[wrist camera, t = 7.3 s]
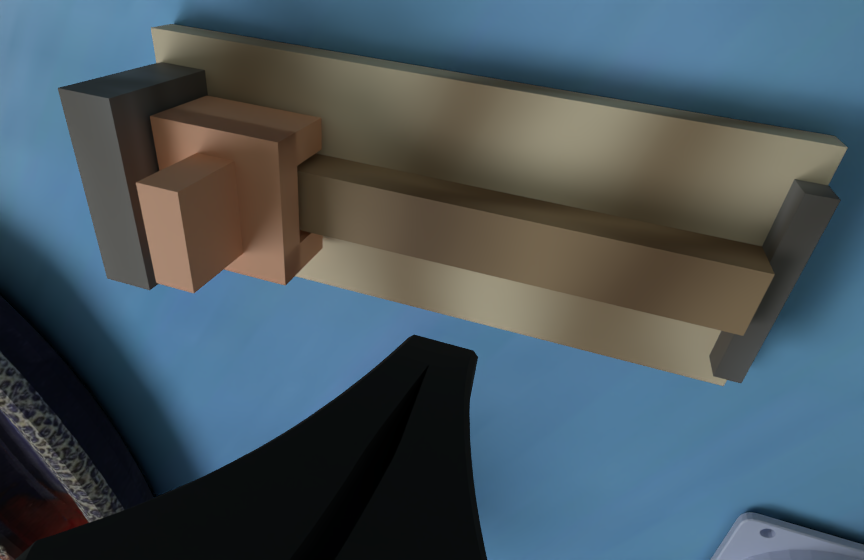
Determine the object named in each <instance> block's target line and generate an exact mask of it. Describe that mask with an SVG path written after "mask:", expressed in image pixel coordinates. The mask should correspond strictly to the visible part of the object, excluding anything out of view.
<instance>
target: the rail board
mask: <svg viewBox="0 0 864 560" xmlns="http://www.w3.org/2000/svg"><path fill="white" fill-rule="evenodd" d="M151 32H152V38H153V44H154V50H155V56H156V64H152V65H148V66H144V67H140V68H136V69H132V70H128V71H124V72H120V73H116V74H112V75H108V76H104V77H100V78H96V79H92V80H88V81H84V82H80V83H76V84H72V85H68V86H64V87H60V88H58V91H59V95H60V99H61V102H62V106H63V110H64V114H65V118H66V122H67V125H68V129H69V133H70V137H71V141H72V145H73V149H74V152H75V156H76V160H77V164H78V168H79V172H80V175H81V179H82V183H83V187H84V191H85V195H86V198H87V202H88V206H89V210H90V214H91V218H92V221H93V225H94V229H95V233H96V237H97V241H98V245H99V248H100V252H101V256H102V260H103V264H104V268H105V271H106V275H107V278H108V279H111V280H115V281H119V282H122V283H126V284H129V285H133V286H137V287H140V288H144V289H147V290H151V289H152V288H153V287H155V286H156V285H158V283H156V279H155V274H154V269H153V264H152V260H151V255H150V250H149V245H148V240H147V235H146V230H145V225H144V220H143V216H142V211H141V206H140V201H139V196H138V191H137V186H136V182H138V181H140V180H142V179H144V178H146V177H148V176H150V175H152V174H154V173H156V172H158V171H159V166H158V160H157V154H156V149H155V143H154V138H153V132H152V126H151V121H150V116H151V115H154V114H157V113H159V112H162V111H165V110H168V109H171V108H173V107H176V106H179V105H182V104H184V103H187V102H190V101H193V100H196V99H198V98H201V97H204V96H212V97H217V98H222V99H228V100H233V101H238V102H243V103H248V104H253V105H258V106H263V107H269V108H274V109H279V110H284V111H289V112H294V113H299V114H305V115H310V116H315V117H320V118H321V131H322V149H321V150H320V151H318V152H317V153H315V154H314V155H312V156H311V157H309V158H308V159H306V160H305V161H303V162H302V163H301V164H299V165H298V166H297V177H298V205H299V230H302V231H306V232H310V233H314V234H318V235H323V248H322V249H321V250H320V251H319V252H318V253H317V254H316V255H315V256H314V257H313V258H312V259H311V260H310V261H309V262H308V263H307V264H306V265H305V266H304V267H303V268H302V269H301V270H300V271H299V272H298V273H297V274H296V275H295V276H297V277H301V278H304V279H308V280H312V281H316V282H320V283H324V284H328V285H332V286H336V287H340V288H343V289H347V290H351V291H355V292H359V293H363V294H367V295H371V296H375V297H378V298H382V299H386V300H390V301H394V302H398V303H402V304H406V305H410V306H414V307H417V308H421V309H425V310H429V311H433V312H437V313H441V314H445V315H449V316H453V317H456V318H460V319H464V320H468V321H472V322H476V323H480V324H484V325H488V326H491V327H495V328H499V329H503V330H507V331H511V332H515V333H519V334H523V335H527V336H530V337H534V338H538V339H542V340H546V341H550V342H554V343H558V344H562V345H566V346H569V347H573V348H577V349H581V350H585V351H589V352H593V353H597V354H601V355H604V356H608V357H612V358H616V359H620V360H624V361H628V362H632V363H636V364H640V365H643V366H647V367H651V368H655V369H659V370H663V371H667V372H671V373H675V374H679V375H682V376H686V377H690V378H694V379H698V380H702V381H706V382H710V383H714V384H717V385H721V386H724V384H725V382H726V381H727V380H730V381H734V382H738V383H742V381H743V379H744V377H745V376H746V374H747V372H748V370H749V368H750V366H751V365H752V363H753V361H754V359H755V357H756V355H757V353H758V352H759V350H760V348H761V346H762V344H763V342H764V341H765V339H766V337H767V335H768V333H769V331H770V329H771V328H772V326H773V324H774V322H775V320H776V318H777V317H778V315H779V313H780V311H781V309H782V307H783V306H784V304H785V302H786V300H787V298H788V296H789V294H790V293H791V291H792V289H793V287H794V285H795V283H796V282H797V280H798V278H799V276H800V274H801V272H802V270H803V269H804V267H805V265H806V263H807V261H808V259H809V258H810V256H811V254H812V252H813V250H814V248H815V246H816V245H817V243H818V241H819V239H820V237H821V235H822V234H823V232H824V230H825V228H826V226H827V224H828V223H829V221H830V219H831V217H832V215H833V213H834V211H835V210H836V208H837V206H838V204H839V202H840V199H839V198H838V196H837V195H836V194H835V193H834V192H833V190H832V189H831V188H830V187H829V186H828V185H829V183H830V181H831V179H832V177H833V175H834V173H835V171H836V169H837V167H838V165H839V163H840V162H841V160H842V158H843V156H844V154H845V152H846V150H847V148H848V147H847V146H846V145H844V144H843V143H842V142H841V141H840V140H839V139H838V138H837V137H836V136H832V135H826V134H820V133H814V132H808V131H802V130H796V129H790V128H784V127H778V126H773V125H767V124H761V123H755V122H749V121H743V120H737V119H731V118H725V117H719V116H713V115H707V114H702V113H696V112H690V111H684V110H678V109H672V108H666V107H660V106H654V105H648V104H642V103H637V102H631V101H625V100H619V99H613V98H607V97H601V96H595V95H589V94H583V93H577V92H571V91H566V90H560V89H554V88H548V87H542V86H536V85H530V84H524V83H518V82H512V81H506V80H501V79H495V78H489V77H483V76H477V75H471V74H465V73H459V72H453V71H447V70H441V69H435V68H430V67H424V66H418V65H412V64H406V63H400V62H394V61H388V60H382V59H376V58H370V57H365V56H359V55H353V54H347V53H341V52H335V51H329V50H323V49H317V48H311V47H305V46H299V45H294V44H288V43H282V42H276V41H270V40H264V39H258V38H252V37H246V36H240V35H234V34H229V33H223V32H217V31H211V30H205V29H199V28H193V27H187V26H181V25H175V24H169V25H163V26H157V27H152V28H151Z"/></svg>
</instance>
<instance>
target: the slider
mask: <svg viewBox="0 0 864 560" xmlns="http://www.w3.org/2000/svg"><path fill="white" fill-rule="evenodd" d="M150 121H151V126H152V132H153V138H154V143H155V149H156V154H157V160H158V166H159V171H158V172H156V173H154V174H152V175H150V176H148V177H146V178H144V179H142V180H140V181H138V182H136V186H137V191H138V196H139V201H140V206H141V211H142V216H143V220H144V225H145V230H146V235H147V240H148V245H149V250H150V255H151V260H152V264H153V269H154V274H155V279H156V283H158V284H162V285H166V286H169V287H173V288H177V289H180V290H184V291H188V292H191V293H195V292H196V291H197V290H199V289H200V288H201V287H202V286H204V285H205V284H206V283H207V282H208V281H210V280H211V279H212V278H213V277H215V276H216V275H217V274H218V273H220V272H221V271H222V270H223V269H224V270H228V271H232V272H236V273H240V274H243V275H247V276H251V277H255V278H259V279H263V280H266V281H270V282H274V283H278V284H282V285H286V284H287V283H288V282H289V281H290V280H291V279H292V278H293V277H294V276H295V275H296V274H297V273H298V272H299V271H300V270H301V269H302V268H303V267H304V266H305V265H306V264H307V263H308V262H309V261H310V260H311V259H312V258H313V257H314V256H315V255H316V254H317V253H318V252H319V251H320V250H321V249H322V248H323V235H318V234H314V233H310V232H306V231H302V230H299V205H298V177H297V166H298V165H299V164H301V163H302V162H303V161H305V160H306V159H308V158H309V157H311V156H312V155H314V154H315V153H317V152H318V151H320V150H321V149H322V131H321V118H320V117H315V116H310V115H305V114H299V113H294V112H289V111H284V110H279V109H274V108H269V107H263V106H258V105H253V104H248V103H243V102H238V101H233V100H228V99H222V98H217V97H212V96H204V97H201V98H198V99H196V100H193V101H190V102H187V103H184V104H182V105H179V106H176V107H173V108H171V109H168V110H165V111H162V112H159V113H157V114H154V115H151V116H150Z"/></svg>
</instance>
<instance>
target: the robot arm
mask: <svg viewBox="0 0 864 560" xmlns="http://www.w3.org/2000/svg"><path fill="white" fill-rule="evenodd" d="M477 359H478V356H477V355H476V354H475V352H474V351H473V350H469V349H465V348H462V347H458V346H454V345H451V344H447V343H443V342H439V341H436V340H432V339H428V338H425V337H421V336H417V335H413V336H411V337H409V338H408V339H406V340H405V341H404V342H403V343H402V344H401V345H400V346H399V347H398V348H397V349H396V350H394V351H393V352H392V353H391V354H390V355H389V356H388V357H386V358H385V359H384V360H383V361H382V362H381V363H379V364H378V365H377V366H376V367H375V368H374V369H372V370H371V371H370V372H369V373H367V374H366V375H365V376H364V377H362V378H361V379H360V380H359V381H357V382H356V383H355V384H353V385H352V386H351V387H350V388H348V389H347V390H346V391H345V392H343V393H342V394H341V395H339V396H338V397H337V398H335V399H334V400H332V401H331V402H329V403H328V404H327V405H325V406H324V407H322V408H321V409H319V410H318V411H317V412H315V413H314V414H312V415H311V416H309V417H308V418H307V419H305V420H304V421H302V422H300V423H299V424H297V425H296V426H294V427H293V428H291V429H290V430H288V431H286V432H285V433H283V434H281V435H280V436H278V437H276V438H275V439H273V440H271V441H270V442H268V443H266V444H264V445H263V446H261V447H259V448H258V449H256V450H254V451H252V452H250V453H248V454H246V455H244V456H243V457H241V458H239V459H237V460H235V461H233V462H231V463H229V464H227V465H225V466H223V467H222V468H220V469H218V470H216V471H214V472H211V473H209V474H207V475H205V476H203V477H201V478H199V479H197V480H195V481H192V482H190V483H188V484H185V485H183V486H181V487H178V488H176V489H174V490H172V491H169V492H167V493H165V494H162V495H160V496H158V497H155V498H153V499H151V500H148V501H146V502H144V503H141V504H139V505H136V506H134V507H131V508H129V509H126V510H124V511H121V512H118V513H115V514H113V515H110V516H107V517H104V518H101V519H98V520H95V521H92V522H89V523H87V524H84V525H81V526H78V527H75V528H72V529H69V530H66V531H63V532H61V533H58V534H55V535H52V536H49V537H45V538H42V539H39V540H36V541H35V542H34V543H33V544H32V545H31V546H30V547H29V548H28V549H26V550H25V551H24V552H23V553H22V554H21V555H20V556H19V557H17V558H16V559H15V560H487V557H486V552H485V547H484V542H483V537H482V532H481V527H480V521H479V515H478V509H477V503H476V495H475V488H474V480H473V470H472V460H471V447H470V417H469V409H470V396H471V391H472V386H473V380H474V375H475V370H476V364H477ZM711 560H864V545H863V544H860V543H856V542H853V541H849V540H846V539H843V538H839V537H836V536H832V535H829V534H826V533H822V532H819V531H815V530H812V529H809V528H805V527H802V526H799V525H795V524H792V523H788V522H785V521H782V520H778V519H775V518H771V517H768V516H765V515H761V514H758V513H753V512H748V513H744V514H741V515H740V516H739V517H738V518H737V520H736V521H735V523H734V524H733V526H732V528H731V529H730V531H729V532H728V534H727V535H726V537H725V538H724V540H723V541H722V543H721V544H720V546H719V547H718V549H717V550H716V552H715V554H714V555H713V557H712V558H711Z"/></svg>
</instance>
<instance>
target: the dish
mask: <svg viewBox="0 0 864 560" xmlns="http://www.w3.org/2000/svg"><path fill="white" fill-rule="evenodd" d="M153 498H154V497H153V495H152V493H151V491H150V489H149V487H148V485H147V483H146V481H145V479H144V477H143V475H142V473H141V471H140V469H139V468H138V466H137V464H136V462H135V460H134V459H133V457H132V455H131V453H130V452H129V450H128V449H127V447H126V445H125V444H124V442H123V440H122V439H121V437H120V435H119V434H118V432H117V431H116V429H115V428H114V426H113V425H112V423H111V422H110V420H109V419H108V417H107V416H106V415H105V413H104V412H103V410H102V409H101V408H100V406H99V405H98V404H97V402H96V401H95V399H94V398H93V397H92V395H91V394H90V393H89V391H88V390H87V389H86V388H85V386H84V385H83V384H82V382H81V381H80V380H79V379H78V377H77V376H76V375H75V374H74V372H73V371H72V370H71V369H70V368H69V366H68V365H67V364H66V363H65V362H64V361H63V360H62V358H61V357H60V356H59V355H58V354H57V353H56V351H55V350H54V349H53V348H52V347H51V346H50V345H49V344H48V343H47V342H46V341H45V340H44V338H43V337H42V336H41V335H40V334H39V333H38V332H37V331H36V330H35V329H34V328H33V327H32V326H31V325H30V324H29V323H28V322H27V321H26V320H25V319H24V318H23V317H22V316H21V315H20V314H19V313H18V312H17V311H16V310H15V309H14V308H13V307H12V306H11V305H10V304H9V303H8V302H6V301H5V300H4V299H3V298H2V297H1V296H0V559H1V560H15V559H16V558H17V557H19V556H20V555H21V554H22V553H23V552H24V551H25V550H26V549H28V548H29V547H30V546H31V545H32V544H33V543H34V542H35V541H36V540H39V539H42V538H45V537H49V536H52V535H55V534H58V533H61V532H63V531H66V530H69V529H72V528H75V527H78V526H81V525H84V524H87V523H89V522H92V521H95V520H98V519H101V518H104V517H107V516H110V515H113V514H115V513H118V512H121V511H124V510H126V509H129V508H131V507H134V506H136V505H139V504H141V503H144V502H146V501H148V500H151V499H153Z"/></svg>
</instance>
